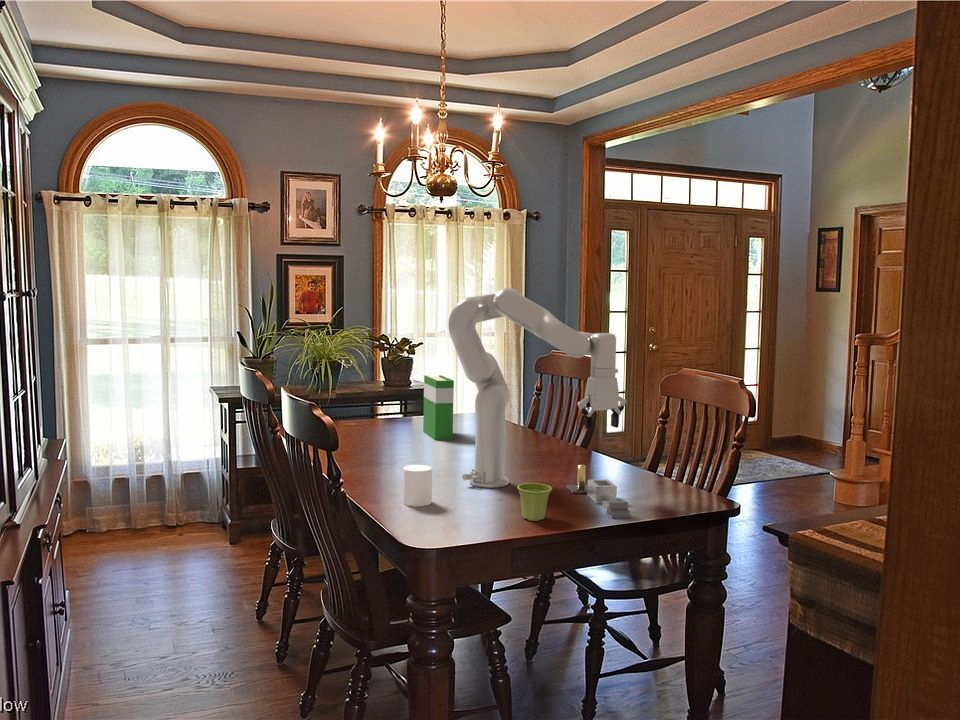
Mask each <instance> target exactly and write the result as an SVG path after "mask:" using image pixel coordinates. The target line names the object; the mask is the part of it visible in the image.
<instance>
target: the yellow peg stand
mask: <svg viewBox="0 0 960 720" xmlns="http://www.w3.org/2000/svg"><path fill="white" fill-rule="evenodd" d="M586 466H587V465H585V464H577V478H576V483H577V484H567V485H566V489H567V488H568V489H569V490H570V491H571V492H572V493H571V492H570V491H569V490H568V489H567V490H568V491H569V492H570V493H571V494H573V493H587V488H588V484H586V468H587V467H586Z"/></svg>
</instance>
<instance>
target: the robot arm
mask: <svg viewBox="0 0 960 720" xmlns="http://www.w3.org/2000/svg"><path fill="white" fill-rule="evenodd" d="M503 317H504V318H506V319H508V320H510V321H511V322H513V323H515V324H516V325H518V326H520V327H522V328H523V329H525V330H526V331H528V332H530V333H532V334H533V335H535V336H536V337H538V338H540V339H542V340H543V341H545V342H546V343H548V344H549V345H551V346H552V347H554V348H556V349H557V350H559V351H561V352H562V353H565V354H566V355H568V356H570V357H572V358H576V359H580V358H583V357H585V356H587V355H590V376H589V377H588V378H587V381H586V384H585V392H584V397H583V399H581V400H579V401H578V402H577V403H576V404H577V406H578V409H579V411H580V413H581V414H582V416H584V418H583V420H584V424H583V425H584V429H586V430H589V431H590V430H593V417H592V415H593V413H594V412H595V411H608V410H609V411H611V414H610V415H611V416H610V426H611V427H613V428H616V429H617V428H619V424H620V415H622V411H624V409H625V405H626V404H627V399H625V398H623V397H622V396H619V395H620V394H619V393H620V390H619V384H618V383H619V381H618V378H617V377H616V374H618V373H619V369H618V368H617V367H616V363H617V362H616V361H617V360H616V359H617V355H616V354H617V337H616V334H613V333H611V332H610V333H609V332H597V333H596V332H595V333H592V332H586V331H585V332H584V331H577V330H575V329H574V328H572V327H570V326H568V325H567V324H565V323H563V321H560V320H559V319H557V318H556V317H555V316H554V314H553V313H551V311H549V310H547V308H545V307H543V306H541V305H539V304H537V303H535V302H534V301H533V300H531V299H529V298H527V297H526V296H524V295H522V294H521V293H520V291H518V290H517V289H514V288H513V287H512V288H508V287H507V288H503V289H501V290H498V291H494V292H490V293H485V294H480V295H476V296H468V297H464V298H462V299H461V300H460V301H458V302H457V303H456V305H455V306H454V307H453V309H452V311H450V315H449V318H448V325H447V326H448V332H449V335H450V338H451V342H452V344H453V347H454V348H455V351H456V354H457V357H458V358H459V362H460V363H461V366H462V369H463V371H464V374H465V376H466V378H467V379H468V380H469V381H470V382H471V383H473V384H474V383H475V386H476V389H477V391H478V392H477V394H476V397H475V402H474V411H475V416H474V417H475V446H474V448H475V450H474V468H473V469H472V470H471V472H470V473H464V474H463V475H462V480H463V481H469V484H471V485H472V486H474V487H479V488H486V489H487V488H490V489H491V488H493V489H494V488H496V489H497V488H502V487H506V486H508V485H509V484H510V479H509V478H508V477H506V476H505V467H506V465H505V464H506V429H507V428H506V425H507V423H506V407H507V406H508V404H509V402H510V398H511V393H510V390H509V387H508V385H507V382H506V380H505V377H504V375H503V373H502V370H501V367H500V366H499V364H498V361H497V359H496V358H495V357H494V356H493V354H492V353H490V352H488V351H486V349H485V347H484V344H483V343H482V339H481V337H480V335H479V334H478V331H477V328H476V325H477V324H478V323H483V322H485V321H490V320H494V319H495V320H496V319H498V318H503Z"/></svg>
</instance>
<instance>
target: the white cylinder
mask: <svg viewBox="0 0 960 720" xmlns="http://www.w3.org/2000/svg"><path fill="white" fill-rule="evenodd" d="M402 479H403V480H402V484H403V485H402V487H403V488H402V503H403V504H404V505H405V506H409V507H414V508H416V507H426V506H430V505H431V504H432V500H433V497H432V496H433V494H432V493H433V467H431V466H430V465H425V464H409V465H406V466H404V467H403V474H402Z"/></svg>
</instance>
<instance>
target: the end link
mask: <svg viewBox="0 0 960 720" xmlns="http://www.w3.org/2000/svg"><path fill="white" fill-rule="evenodd" d="M587 485H588V488H587V494H586V496H587V495H588V496H589V497H590V498H591V499H592V500H593V501H594V502H595V503H594V502H593V501H592V500H591V499H590V498H589V497H588V496H587V497H588V498H589V499H590V500H591V501H592V502H593V503H594V504H602V503H603V501H617V494H618V493H617V490H618V488H617V485H616V484H615V483H613V482H612V481H611V480H609V479H608V478H605V479H603V478H602V479H588V480H587Z"/></svg>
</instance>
